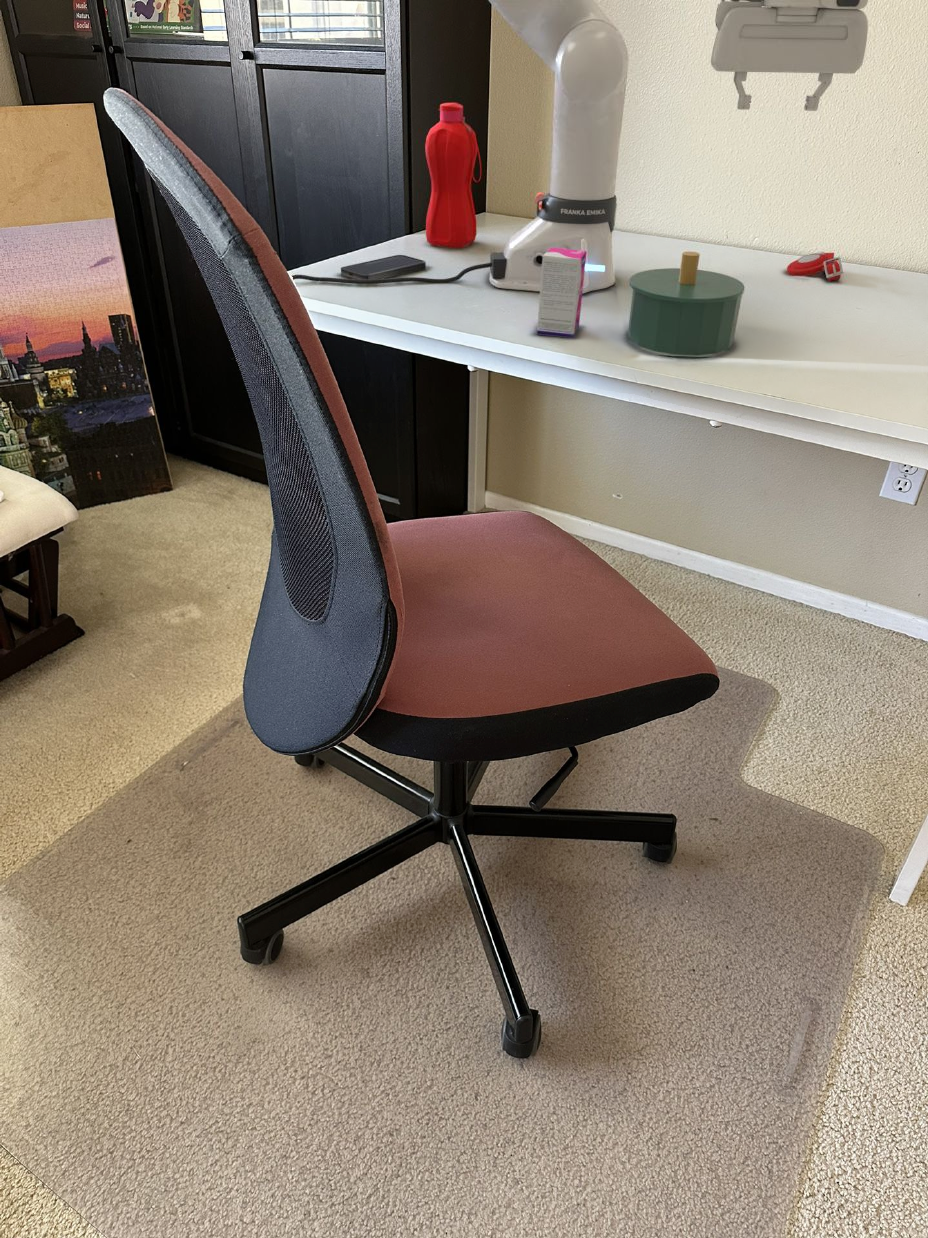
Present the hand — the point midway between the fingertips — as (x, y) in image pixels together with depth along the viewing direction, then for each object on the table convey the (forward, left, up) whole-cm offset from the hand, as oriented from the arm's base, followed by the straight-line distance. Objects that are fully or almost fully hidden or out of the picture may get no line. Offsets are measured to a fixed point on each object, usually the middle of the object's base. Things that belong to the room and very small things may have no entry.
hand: (776, 109), depth 128 cm
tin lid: (-11, -14, -21) cm, 28 cm away
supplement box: (-29, -11, -29) cm, 43 cm away
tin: (-11, -14, -29) cm, 34 cm away
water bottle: (-50, +43, -29) cm, 72 cm away
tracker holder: (+18, +26, -29) cm, 43 cm away
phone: (-61, +20, -29) cm, 71 cm away
